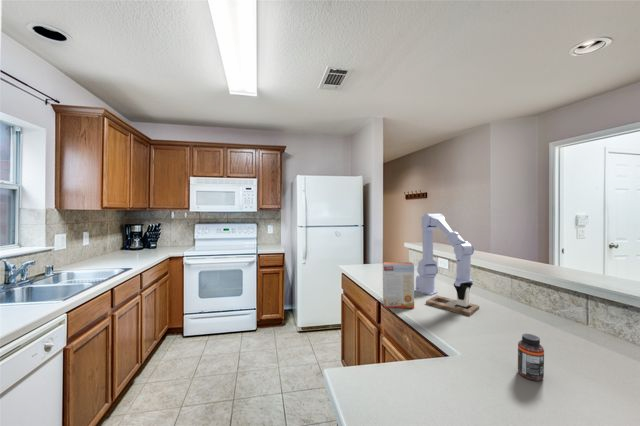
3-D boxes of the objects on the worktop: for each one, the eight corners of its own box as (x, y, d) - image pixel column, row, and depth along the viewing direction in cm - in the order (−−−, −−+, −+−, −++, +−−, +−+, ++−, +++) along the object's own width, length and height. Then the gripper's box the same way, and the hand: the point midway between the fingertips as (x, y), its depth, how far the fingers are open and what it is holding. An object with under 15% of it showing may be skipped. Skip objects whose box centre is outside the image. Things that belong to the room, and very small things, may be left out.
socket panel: (425, 304, 135) (425, 301, 135) (436, 298, 143) (436, 295, 143) (469, 316, 121) (469, 312, 120) (479, 308, 129) (479, 305, 129)
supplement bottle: (518, 366, 83) (518, 329, 83) (543, 374, 79) (544, 335, 79) (516, 376, 79) (517, 337, 78) (543, 385, 75) (544, 343, 74)
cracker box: (411, 304, 135) (411, 261, 135) (414, 308, 129) (414, 264, 129) (382, 303, 137) (382, 261, 136) (384, 307, 131) (384, 264, 130)
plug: (456, 304, 128) (457, 287, 128) (460, 302, 131) (460, 285, 131) (465, 306, 125) (466, 289, 125) (469, 304, 128) (469, 287, 128)
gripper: (466, 273, 120) (466, 304, 120) (478, 268, 130) (478, 296, 130) (450, 270, 125) (449, 300, 125) (462, 265, 135) (462, 293, 135)
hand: (463, 298), depth 128 cm, fingers closed on plug, 4 cm apart
